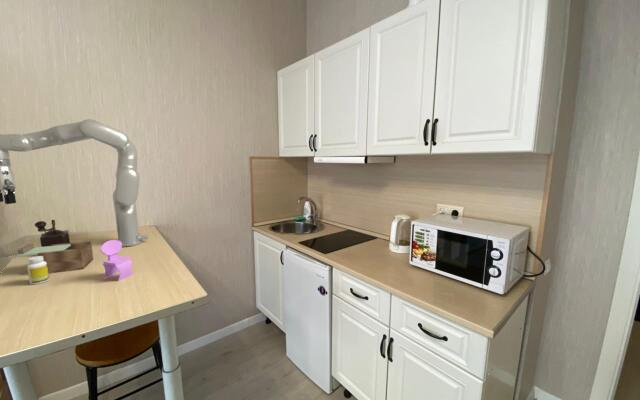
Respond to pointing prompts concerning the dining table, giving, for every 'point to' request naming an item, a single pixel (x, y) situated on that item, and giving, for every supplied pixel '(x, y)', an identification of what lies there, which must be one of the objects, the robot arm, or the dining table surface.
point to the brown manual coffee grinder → (52, 234)
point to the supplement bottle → (37, 270)
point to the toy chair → (115, 260)
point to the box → (68, 257)
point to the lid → (39, 249)
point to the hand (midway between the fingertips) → (4, 202)
